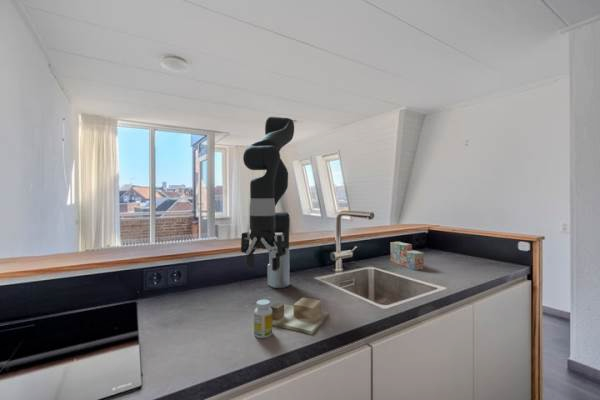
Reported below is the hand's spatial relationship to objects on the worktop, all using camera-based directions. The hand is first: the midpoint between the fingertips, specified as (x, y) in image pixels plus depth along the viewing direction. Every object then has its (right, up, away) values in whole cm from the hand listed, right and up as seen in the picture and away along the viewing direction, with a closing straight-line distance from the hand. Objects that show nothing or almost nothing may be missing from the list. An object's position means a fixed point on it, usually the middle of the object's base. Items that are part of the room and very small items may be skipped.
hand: (262, 268), depth 82 cm
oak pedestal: (+13, -19, +11) cm, 26 cm away
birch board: (+9, -19, +10) cm, 24 cm away
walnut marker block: (+3, -19, +9) cm, 22 cm away
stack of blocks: (+73, -18, +80) cm, 110 cm away
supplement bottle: (0, -20, 0) cm, 20 cm away
